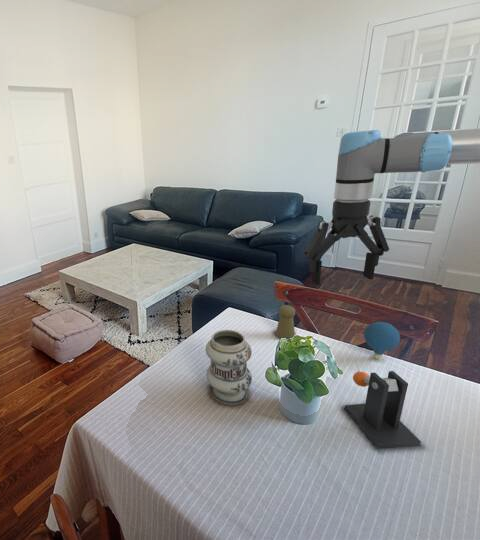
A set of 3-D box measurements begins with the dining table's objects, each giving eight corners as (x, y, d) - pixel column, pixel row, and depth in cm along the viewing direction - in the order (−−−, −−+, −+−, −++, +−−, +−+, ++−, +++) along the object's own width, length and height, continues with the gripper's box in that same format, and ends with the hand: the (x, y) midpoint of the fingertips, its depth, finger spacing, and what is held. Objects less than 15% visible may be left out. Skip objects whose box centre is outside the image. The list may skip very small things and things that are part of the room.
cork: (279, 328, 122) (281, 301, 118) (297, 333, 118) (299, 305, 114) (272, 336, 118) (274, 308, 114) (290, 341, 114) (293, 312, 110)
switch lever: (351, 386, 85) (348, 371, 86) (366, 384, 85) (362, 370, 86) (385, 394, 73) (381, 377, 74) (402, 393, 73) (398, 376, 74)
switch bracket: (344, 408, 85) (350, 363, 80) (380, 405, 85) (389, 359, 80) (377, 449, 74) (388, 398, 69) (420, 445, 73) (433, 395, 69)
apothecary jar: (218, 373, 103) (217, 321, 97) (258, 388, 95) (260, 333, 89) (198, 396, 95) (196, 341, 88) (240, 414, 87) (241, 356, 81)
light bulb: (373, 347, 106) (379, 314, 102) (402, 361, 99) (409, 326, 94) (353, 355, 104) (359, 321, 99) (382, 370, 96) (389, 334, 92)
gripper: (393, 191, 84) (379, 270, 92) (292, 202, 86) (287, 279, 93) (417, 196, 77) (401, 280, 85) (307, 208, 79) (300, 290, 86)
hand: (341, 280), depth 89 cm, fingers open, 13 cm apart
